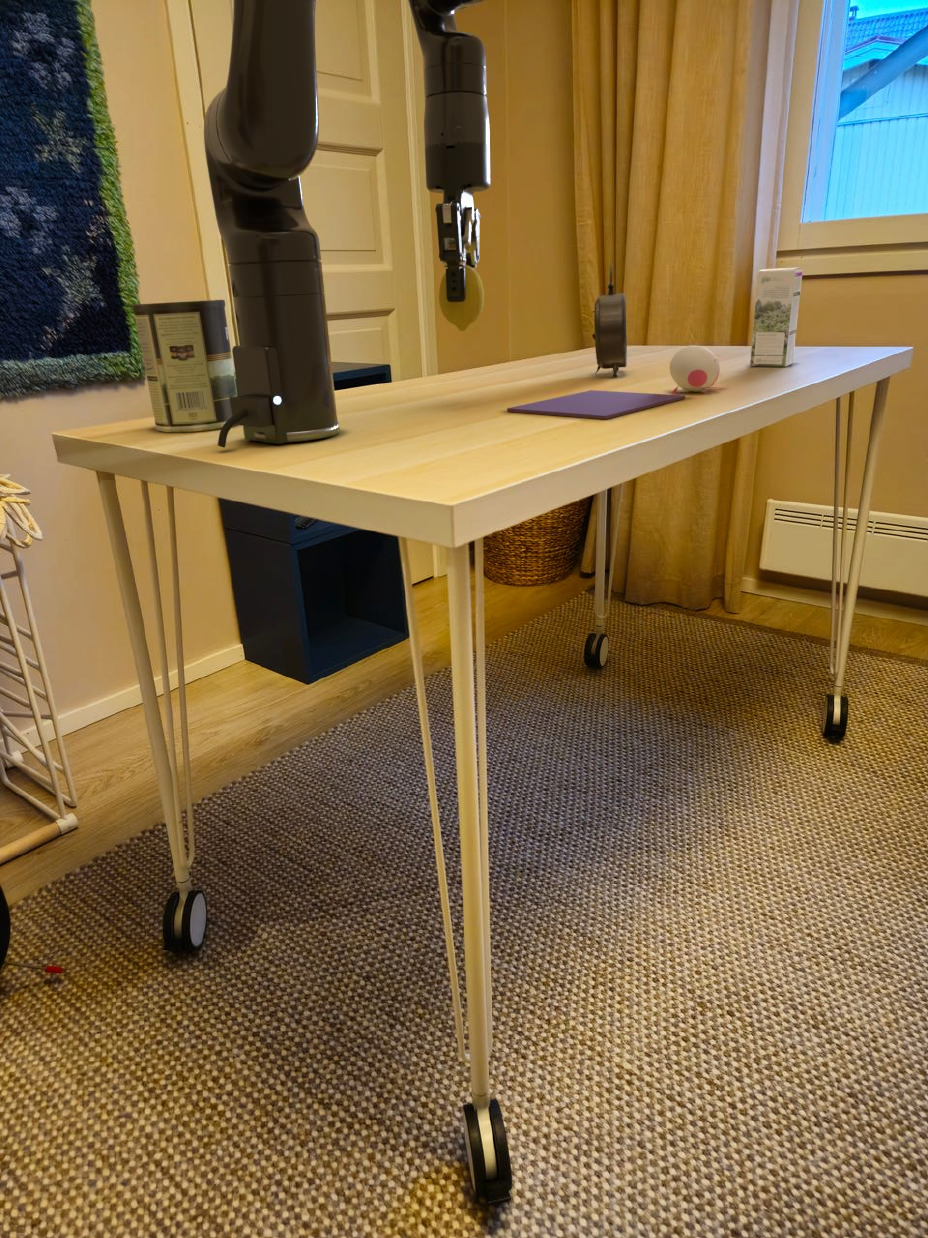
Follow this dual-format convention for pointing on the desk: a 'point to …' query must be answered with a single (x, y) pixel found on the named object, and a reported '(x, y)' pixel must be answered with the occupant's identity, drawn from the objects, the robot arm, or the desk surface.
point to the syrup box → (775, 316)
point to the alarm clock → (610, 330)
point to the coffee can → (187, 363)
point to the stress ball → (694, 368)
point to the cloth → (596, 404)
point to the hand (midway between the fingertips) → (461, 300)
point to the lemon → (468, 309)
